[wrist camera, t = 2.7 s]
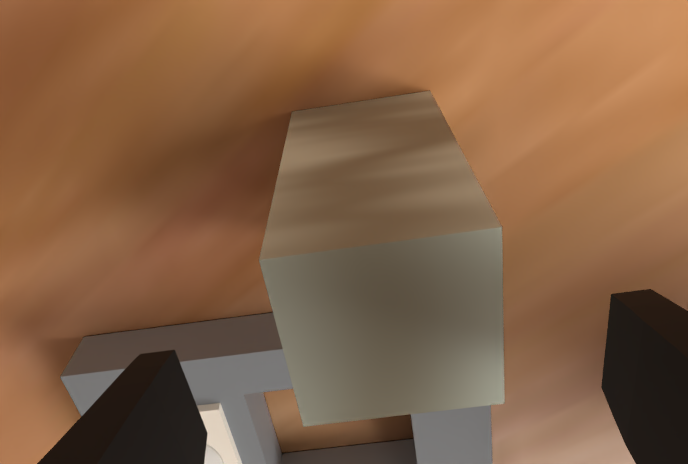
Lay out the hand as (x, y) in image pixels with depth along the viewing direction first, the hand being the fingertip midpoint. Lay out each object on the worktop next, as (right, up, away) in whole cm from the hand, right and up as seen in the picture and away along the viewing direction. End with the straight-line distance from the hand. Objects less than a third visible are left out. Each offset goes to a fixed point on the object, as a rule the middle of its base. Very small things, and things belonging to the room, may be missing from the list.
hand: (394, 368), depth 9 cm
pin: (0, +4, +8) cm, 9 cm away
